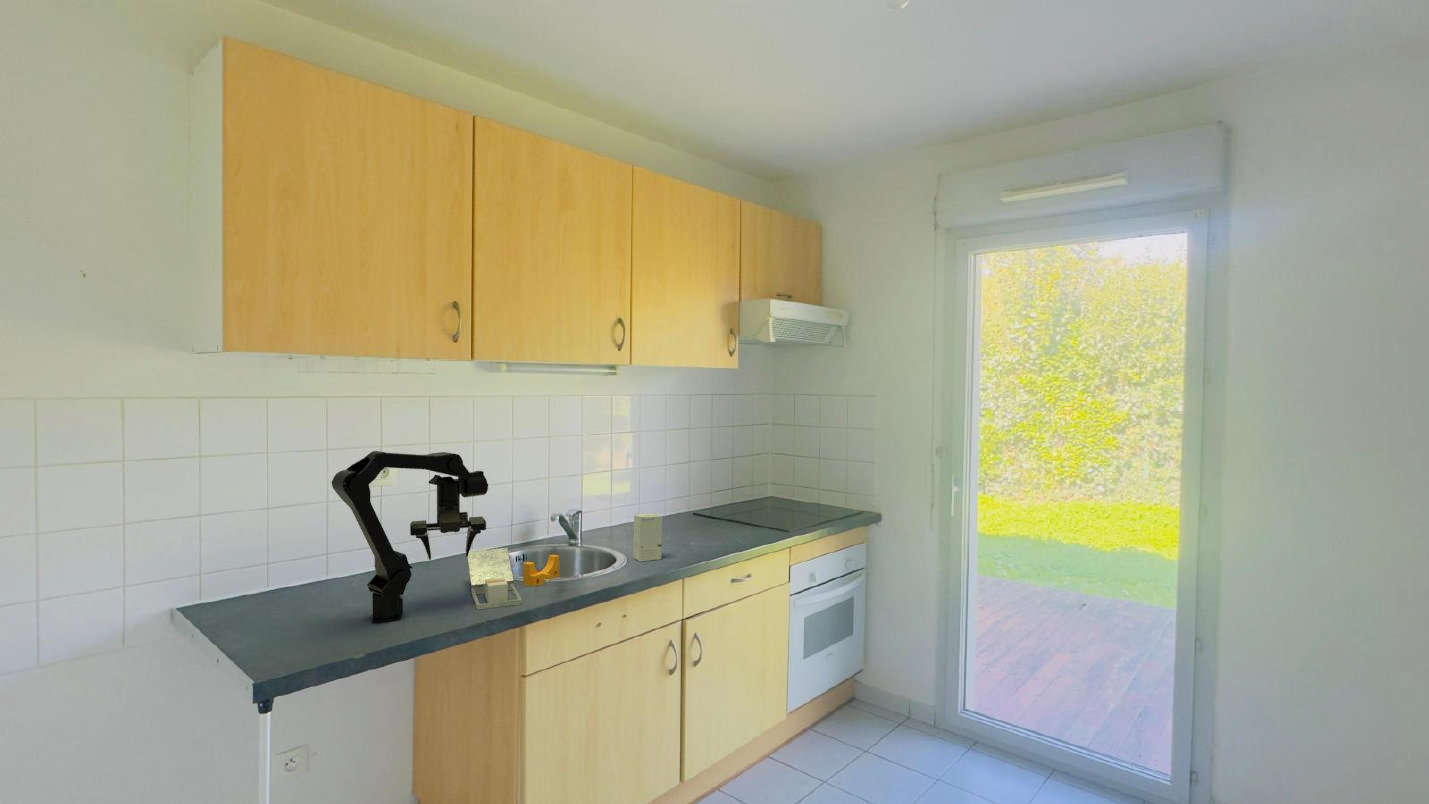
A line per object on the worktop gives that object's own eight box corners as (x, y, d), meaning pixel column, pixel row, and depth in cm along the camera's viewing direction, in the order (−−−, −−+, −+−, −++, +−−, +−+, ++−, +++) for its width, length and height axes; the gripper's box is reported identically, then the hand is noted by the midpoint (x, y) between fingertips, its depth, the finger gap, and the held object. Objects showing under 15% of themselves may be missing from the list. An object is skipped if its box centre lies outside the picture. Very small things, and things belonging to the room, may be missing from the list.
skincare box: (639, 562, 232) (639, 517, 231) (632, 558, 237) (632, 514, 237) (662, 559, 236) (663, 515, 235) (655, 555, 241) (655, 512, 241)
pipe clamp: (534, 587, 204) (533, 565, 204) (523, 585, 206) (523, 563, 206) (563, 577, 214) (563, 556, 214) (553, 575, 216) (553, 554, 216)
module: (488, 604, 188) (488, 585, 188) (485, 597, 194) (485, 578, 194) (507, 602, 190) (507, 583, 190) (503, 595, 196) (503, 576, 196)
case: (477, 609, 183) (476, 575, 183) (467, 581, 208) (467, 551, 208) (521, 604, 188) (521, 570, 188) (507, 577, 213) (507, 547, 212)
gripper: (410, 507, 177) (411, 569, 177) (488, 502, 185) (488, 561, 185) (409, 500, 187) (410, 558, 188) (483, 495, 195) (483, 551, 195)
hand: (448, 557), depth 189 cm, fingers open, 9 cm apart
